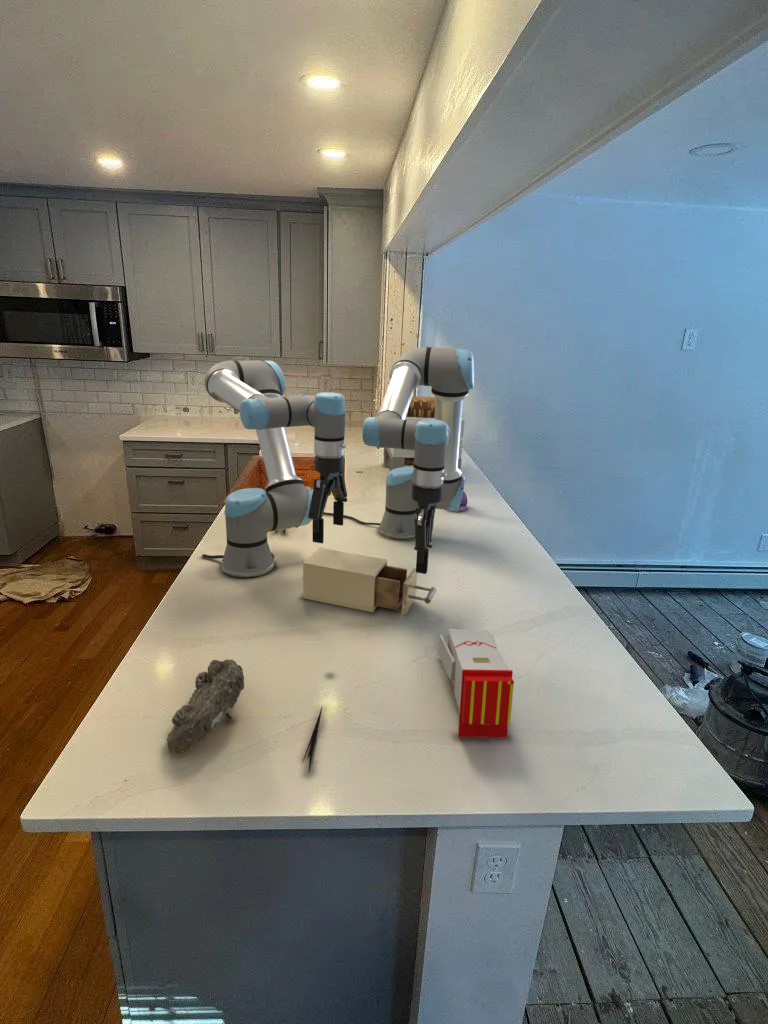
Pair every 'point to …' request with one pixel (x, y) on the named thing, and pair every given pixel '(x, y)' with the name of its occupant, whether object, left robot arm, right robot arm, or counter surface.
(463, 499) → the figurine
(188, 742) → the fossil
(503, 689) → the toy
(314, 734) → the feather
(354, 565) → the cabinet
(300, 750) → the counter surface
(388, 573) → the drawer
